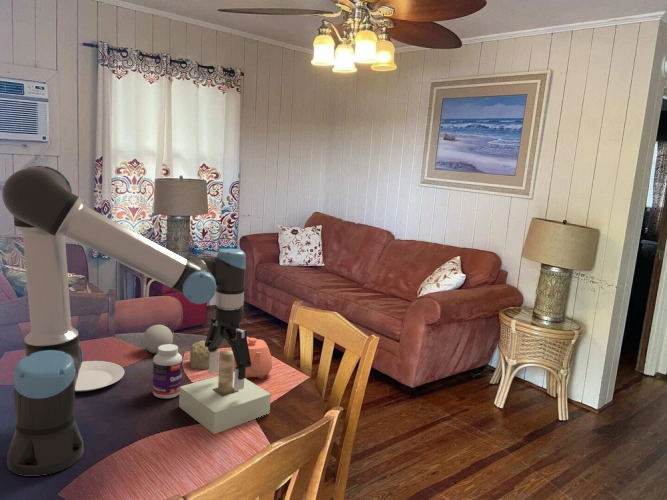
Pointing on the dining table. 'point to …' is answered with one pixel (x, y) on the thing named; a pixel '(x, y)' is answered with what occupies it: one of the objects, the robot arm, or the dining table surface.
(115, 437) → the dining table surface
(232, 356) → the dowel
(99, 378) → the plate
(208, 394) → the bore block
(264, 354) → the teapot
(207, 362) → the decorative object
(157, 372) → the pill bottle
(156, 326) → the ball
